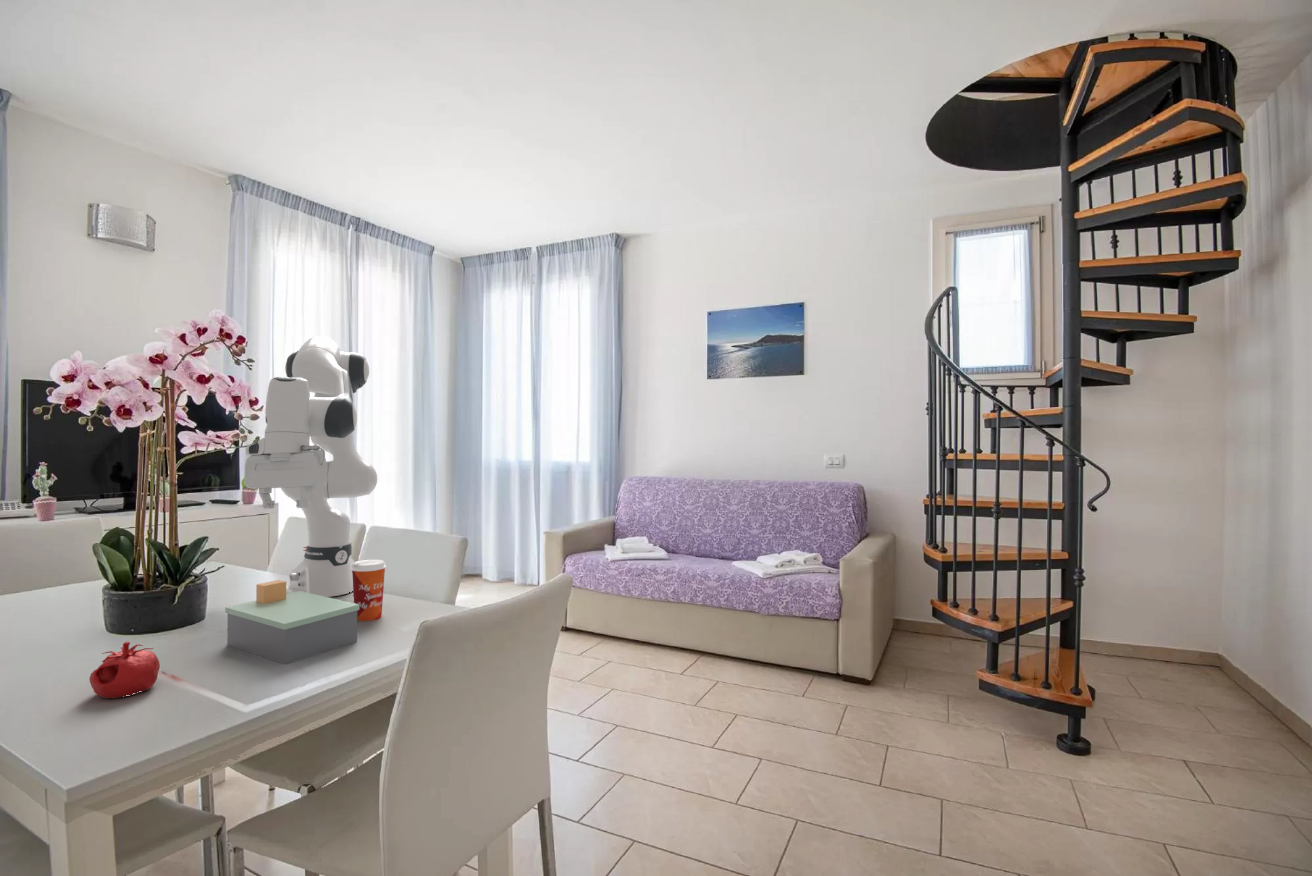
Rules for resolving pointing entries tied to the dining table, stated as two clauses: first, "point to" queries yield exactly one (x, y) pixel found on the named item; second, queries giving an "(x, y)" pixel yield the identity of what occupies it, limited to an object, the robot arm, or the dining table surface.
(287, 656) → the tub
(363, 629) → the dining table surface
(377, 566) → the coffee cup
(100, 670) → the red tomato
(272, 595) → the lid
